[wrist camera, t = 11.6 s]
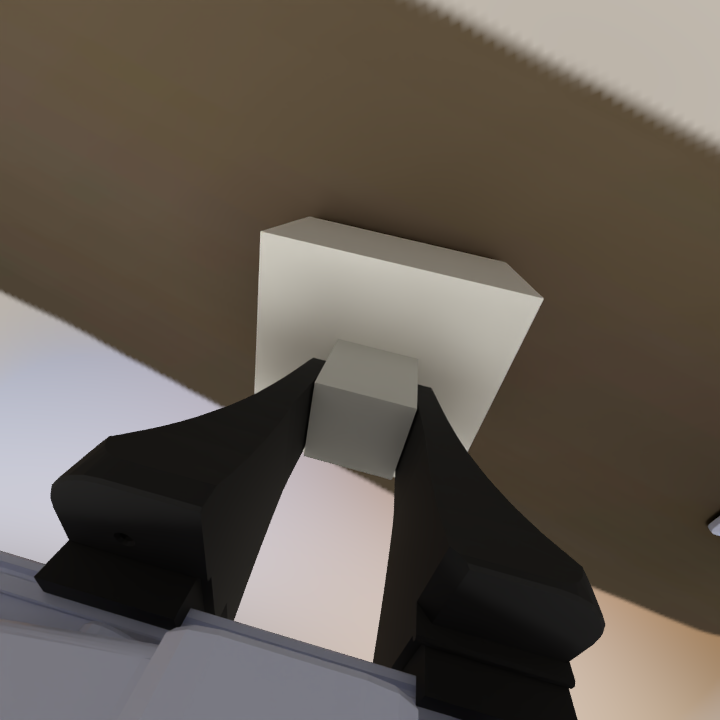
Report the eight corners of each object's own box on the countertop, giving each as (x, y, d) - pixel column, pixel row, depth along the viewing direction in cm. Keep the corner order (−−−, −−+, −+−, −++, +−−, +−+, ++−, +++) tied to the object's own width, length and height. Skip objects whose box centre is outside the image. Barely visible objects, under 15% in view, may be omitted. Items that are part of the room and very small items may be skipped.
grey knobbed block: (505, 262, 15) (586, 339, 8) (441, 417, 19) (453, 557, 12) (309, 216, 15) (207, 247, 8) (292, 378, 20) (217, 491, 13)
